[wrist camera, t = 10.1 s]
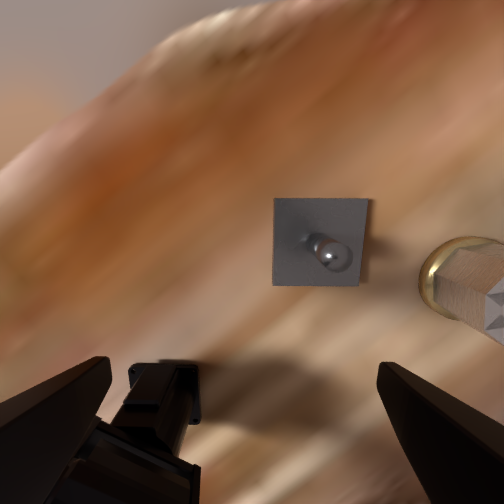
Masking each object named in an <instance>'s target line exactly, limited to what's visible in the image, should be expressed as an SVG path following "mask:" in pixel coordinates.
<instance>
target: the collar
mask: <svg viewBox="0 0 504 504" xmlns="http://www.w3.org/2000/svg"><path fill="white" fill-rule="evenodd" d="M433 301H434V302H435V303H437V304H438V305H439V306H441V307H442V308H443V309H445V310H446V311H447V312H449V313H450V314H452V315H453V316H454V317H456V318H457V319H459V320H461V321H462V322H464V323H466V324H467V325H469V326H471V327H472V328H474V329H476V330H477V331H479V332H481V333H482V334H484V335H486V336H487V337H489V338H491V339H493V340H494V341H496V342H498V343H499V344H501V345H503V346H504V245H499V244H494V243H484V244H478V245H472V246H465V247H459V248H456V249H455V250H454V251H453V252H452V253H451V254H450V255H449V256H448V257H447V258H446V259H445V261H444V262H443V263H442V264H441V265H440V266H439V267H438V268H437V269H436V270H435V271H434V272H433Z"/></svg>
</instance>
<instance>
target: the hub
mask: <svg viewBox="0 0 504 504" xmlns="http://www.w3.org/2000/svg"><path fill="white" fill-rule="evenodd" d="M484 243H494V244H499V245H502V244H500V243H499V242H496V241H493V240H489V239H484V238H479V237H460V238H456V239H453V240H450V241H448V242H446V243H444V244H442V245H441V246H439V247H438V248H437V249H436V250H434V251H433V252H432V253H431V254H430V256H429V257H428V258H427V260H426V261H425V263H424V265H423V266H422V269H421V272H420V275H419V290H420V294H421V297H422V298H423V300H424V302H425V303H426V304H427V305H428V306H429V307H430V308H432V309H433V310H435V311H436V312H438V313H439V314H441V315H443V316H445V317H447V318H449V319H453V320H459V319H457V318H456V317H454V316H453V315H452V314H450V313H449V312H447V311H446V310H445V309H443V308H442V307H441V306H439V305H438V304H437V303H435V302H434V301H433V272H434V271H435V270H436V269H437V268H438V267H439V266H440V265H441V264H442V263H443V262H444V261H445V259H446V258H447V257H448V256H449V255H450V254H451V253H452V252H453V251H454V250H455V249H456V248H459V247H465V246H472V245H478V244H484ZM460 321H461V320H460Z"/></svg>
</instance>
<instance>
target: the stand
mask: <svg viewBox="0 0 504 504" xmlns="http://www.w3.org/2000/svg"><path fill="white" fill-rule="evenodd" d="M367 206H368V199H319V198H274V218H273V263H272V284H273V286H359V278H360V269H361V260H362V251H363V242H364V233H365V224H366V215H367Z"/></svg>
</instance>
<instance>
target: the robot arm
mask: <svg viewBox="0 0 504 504" xmlns="http://www.w3.org/2000/svg"><path fill="white" fill-rule="evenodd" d="M133 369H134V370H136V371H134V370H133ZM191 370H194V371H195V372H192V371H191ZM128 375H129V382H130V389H131V390H130V392H129V393H128V395H127V396H126V398H125V399H124V401H123V404H122V406H121V408H120V409H119V411H118V412H117V414H116V415H115V417H114V418H113V420H112V422H111V423H110V424H108V423H106V422H104V421H102V420H101V419H102V418H100V417H98V416H96V413H97V411H98V409H99V407H100V405H101V403H102V401H103V399H104V397H105V396H106V394H107V392H108V390H109V388H110V386H111V383H112V371H111V364H110V359H109V358H108V357H106V356H95V357H93V358H91V359H89V360H87V361H85V362H83V363H81V364H79V365H76V366H74V367H72V368H70V369H68V370H66V371H64V372H62V373H60V374H58V375H56V376H54V377H52V378H50V379H48V380H46V381H44V382H42V383H40V384H38V385H36V386H34V387H32V388H30V389H28V390H26V391H24V392H22V393H20V394H18V395H16V396H14V397H12V398H10V399H8V400H6V401H4V402H2V403H0V504H199V496H200V476H201V467H200V466H198V465H196V464H194V465H192V464H190V463H188V462H186V461H184V460H182V459H180V458H178V457H179V453H180V450H181V447H182V443H183V440H184V436H185V433H186V430H187V426H188V425H197V424H199V423H200V421H201V401H200V384H199V369H198V367H197V366H196V365H167V364H133V365H131V367H130V368H129V370H128ZM376 384H377V390H378V393H379V395H380V398H381V400H382V402H383V405H384V407H385V409H386V412H387V414H388V417H389V419H390V421H391V424H392V426H393V429H394V431H395V433H396V436H397V438H398V440H399V442H400V444H401V446H402V448H403V450H404V452H405V454H406V456H407V458H408V460H409V462H410V464H411V466H412V468H413V470H414V472H415V473H416V475H417V477H418V479H419V481H420V483H421V485H422V487H423V489H424V491H425V493H426V494H427V496H428V498H429V500H430V502H431V504H504V426H503V425H502V424H500V423H498V422H496V421H495V420H493V419H491V418H490V417H488V416H486V415H484V414H483V413H481V412H479V411H478V410H476V409H474V408H472V407H471V406H469V405H467V404H465V403H464V402H462V401H460V400H459V399H457V398H455V397H453V396H452V395H450V394H448V393H447V392H445V391H443V390H441V389H440V388H438V387H436V386H434V385H433V384H431V383H429V382H428V381H426V380H424V379H422V378H421V377H419V376H417V375H416V374H414V373H412V372H410V371H409V370H407V369H405V368H403V367H402V366H400V365H398V364H397V363H395V362H381V363H380V364H379V369H378V376H377V383H376Z"/></svg>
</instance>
